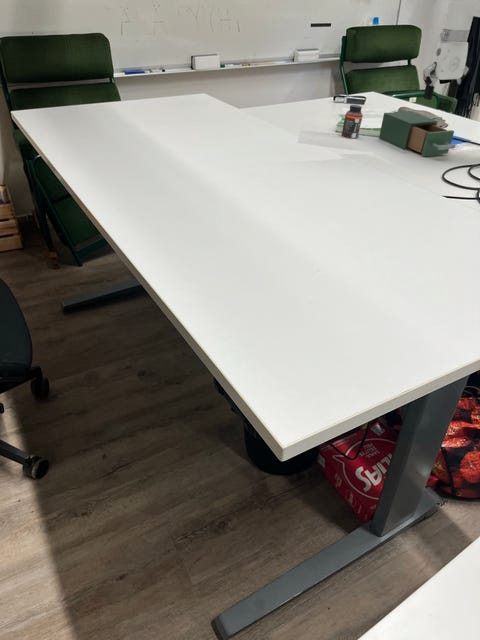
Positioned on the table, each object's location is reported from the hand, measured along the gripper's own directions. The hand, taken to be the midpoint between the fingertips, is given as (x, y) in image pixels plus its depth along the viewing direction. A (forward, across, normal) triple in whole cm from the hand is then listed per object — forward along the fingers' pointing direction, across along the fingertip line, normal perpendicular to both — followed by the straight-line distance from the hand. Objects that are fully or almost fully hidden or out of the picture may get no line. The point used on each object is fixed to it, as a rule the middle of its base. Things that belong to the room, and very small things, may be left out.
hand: (439, 98), depth 154 cm
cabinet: (+17, 0, +11) cm, 21 cm away
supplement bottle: (+17, -17, +21) cm, 32 cm away
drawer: (+17, 0, -1) cm, 17 cm away
